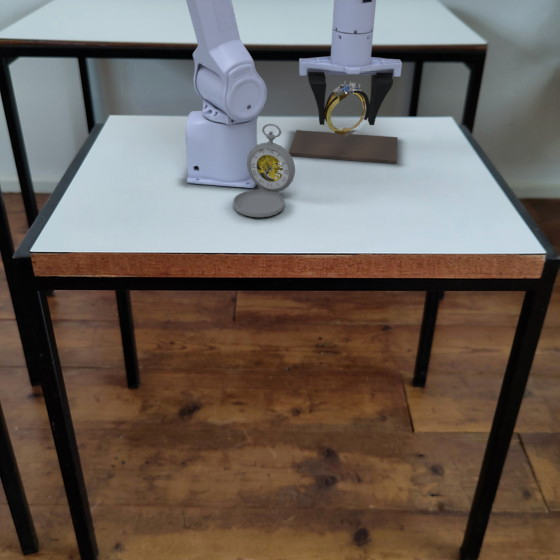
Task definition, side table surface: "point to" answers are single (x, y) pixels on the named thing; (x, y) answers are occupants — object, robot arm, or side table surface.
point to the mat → (344, 146)
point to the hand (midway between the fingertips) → (346, 122)
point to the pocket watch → (266, 178)
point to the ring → (334, 100)
